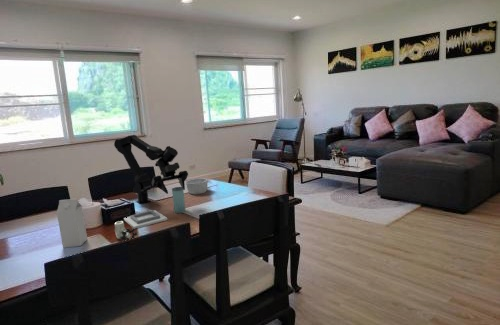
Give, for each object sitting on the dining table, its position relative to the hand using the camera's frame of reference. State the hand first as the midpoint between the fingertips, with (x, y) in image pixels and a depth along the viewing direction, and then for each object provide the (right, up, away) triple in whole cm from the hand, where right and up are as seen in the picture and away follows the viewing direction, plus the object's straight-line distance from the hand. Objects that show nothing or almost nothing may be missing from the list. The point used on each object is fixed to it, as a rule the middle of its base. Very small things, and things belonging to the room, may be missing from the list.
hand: (176, 191), depth 179 cm
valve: (-15, -18, -33) cm, 40 cm away
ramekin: (+6, -3, +35) cm, 36 cm away
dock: (-13, -13, -10) cm, 21 cm away
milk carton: (-35, -19, -34) cm, 52 cm away
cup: (+2, -10, 0) cm, 10 cm away
